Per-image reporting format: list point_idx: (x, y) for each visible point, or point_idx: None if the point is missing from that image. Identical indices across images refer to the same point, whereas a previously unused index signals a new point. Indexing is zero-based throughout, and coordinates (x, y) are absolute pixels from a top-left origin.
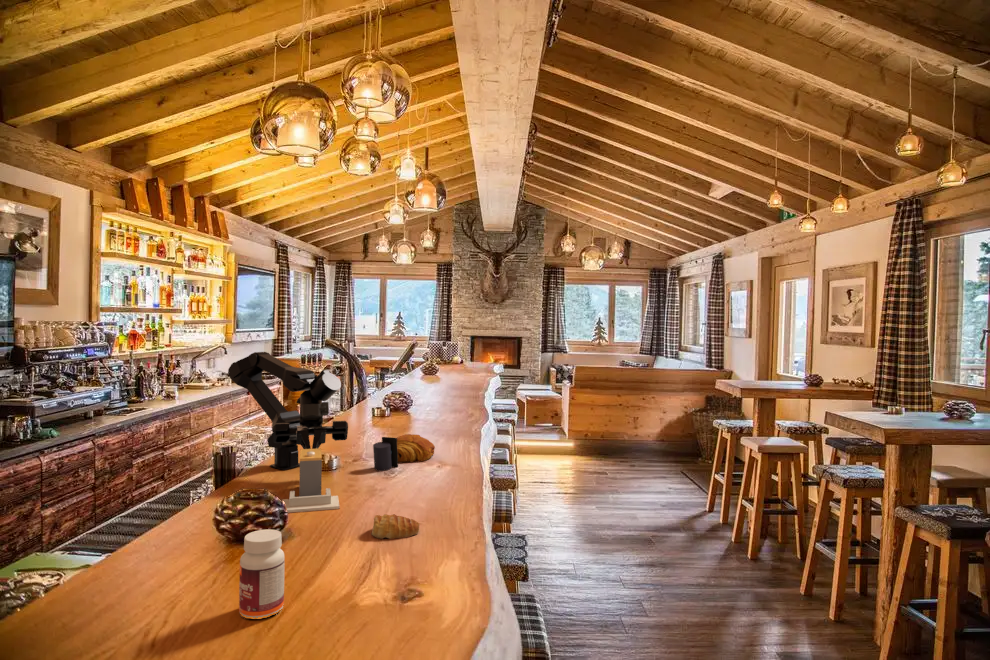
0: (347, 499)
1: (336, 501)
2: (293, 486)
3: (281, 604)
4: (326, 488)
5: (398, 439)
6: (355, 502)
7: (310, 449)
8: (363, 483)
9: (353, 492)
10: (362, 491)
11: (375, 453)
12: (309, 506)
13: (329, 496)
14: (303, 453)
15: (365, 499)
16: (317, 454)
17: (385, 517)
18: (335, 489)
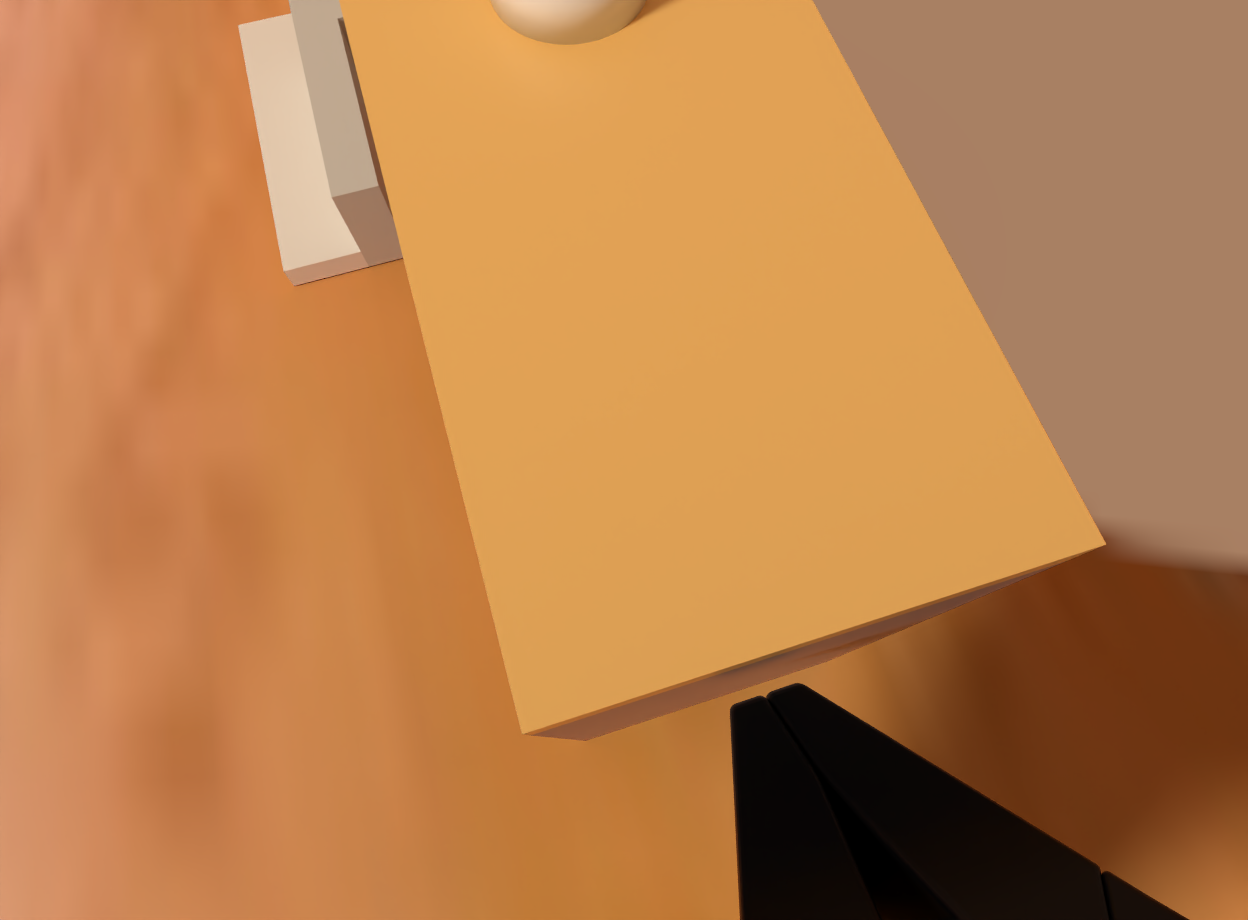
0: (196, 259)
1: (276, 118)
2: (914, 672)
3: None
4: (370, 186)
5: None
6: (118, 188)
7: (797, 546)
8: (8, 883)
9: (142, 475)
10: (38, 517)
11: None
12: None
13: (305, 2)
14: (803, 135)
15: (20, 267)
16: (449, 74)
17: None
18: (362, 576)
